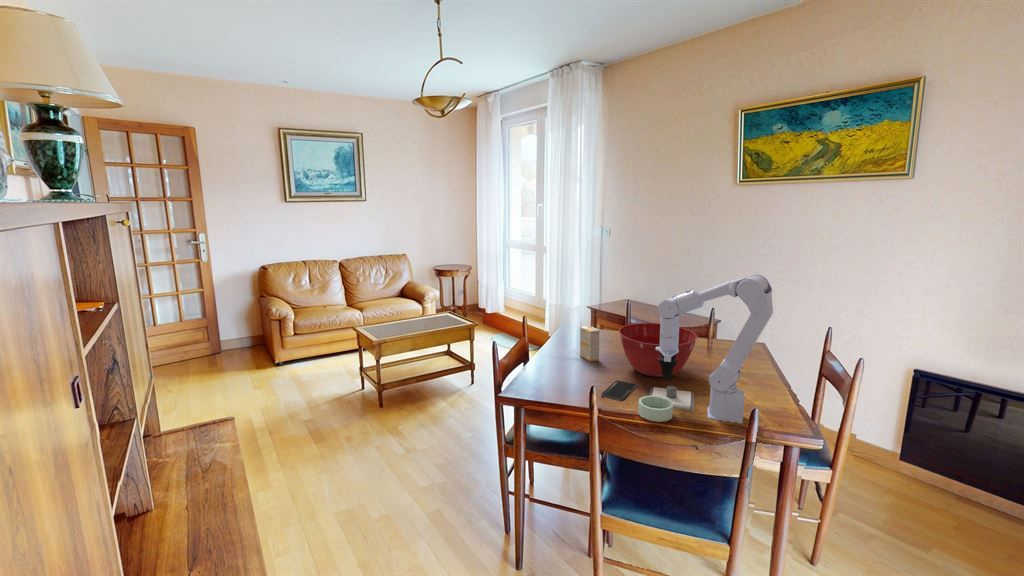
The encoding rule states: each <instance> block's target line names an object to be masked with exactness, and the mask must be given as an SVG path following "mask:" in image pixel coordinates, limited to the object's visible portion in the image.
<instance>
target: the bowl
mask: <svg viewBox="0 0 1024 576" xmlns="http://www.w3.org/2000/svg"><path fill="white" fill-rule="evenodd" d="M637 402H638V403H637V414H638V415H639V416H640V417H641V418H643V419H645V420H647V421H651V422H657V423H659V422H668V421H670V420H671V419H673V413H674V412H673V411H674V408H673V403H672V402H671V401H670V400H669V399H666V398H664V397H660V396H649V395H645V396H642V397H640V398H639V399H638V401H637Z"/></svg>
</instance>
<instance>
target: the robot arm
mask: <svg viewBox="0 0 1024 576" xmlns="http://www.w3.org/2000/svg"><path fill="white" fill-rule="evenodd" d="M772 294H773V287H772V286H771V284H770V282H769V280H768V279H767V278H766V277H765V276H764V275H761V274H753V275H750V276H748V277H747V276H744V277H739V278H736V279H733V280H732V279H731V280H729V281H726V282H723V283H720V284H719V285H716V286H712V287H710V288H708V289H705V290H703V291H699V290H698V289H691V288H690V289H686V290H685V292H684V293H681V294H678V295H677V294H675V295H672V296H671V298H670V297H669V298H668V299H664V300H663V301H661V302H660V303H659V304H658V306H657V311H658V314H659V315H660V323H659V324H660V347H656V350H657V351H660V352H661V355H662V358H658V361H659V364H660V366H661V369H662V375H663V377H662V379H663V381H671V380H672V376H673V375H672V372H673V369H674V367H675V365H676V363H677V360H675V358H676V356H677V354H678V352H679V349H678V341H679V327H680V315H681V314H686V313H688V312H691V311H695V310H698V309H700V308H702V307H703V305H704V303H705V302H709V301H711V300H714V299H718V298H721V297H724V296H731V297H733V298H737V297H738V298H739V299H740V300H741V301H742V302H743V303H744V304H745V306H747V308H748V310H749V312H750V313H749V314H750V315H749V316H748V318H747V320H746V322H745V323H744V324H743V326H742V328H741V330H740V332H739V333H738V335H737V337H736V339H735V341H734V342H733V344H732V346H731V347H730V349H729V350H728V352H727V354H726V355H725V358H723V361H722V362H721V363H720V364H719V366H718V368H717V369H716V370H713V372H711V373H710V374H709V376H708V384H709V386H710V393H709V406H707V411H706V412H707V419H708V420H713V419H714V421H720V420H721V422H727V421H730V422H729V423H734V422H737V421H738V423H737V424H741V423H742V424H744V422H743V421H744V413H745V390H743V389H738V386H737V382H738V381H739V379H740V377H741V369H742V368H743V367H744V366H743V364H744V362H745V361H746V359H747V357H748V356H749V354H750V353H751V350H752V349H753V347H754V346H755V344H756V342H757V341H758V339H759V337H760V336H761V334H762V332H763V331H764V329H765V327H766V326H767V324H768V322H769V321H770V319H771V318H772V316H773V314H774V309H773V308H774V306H773V297H772V296H773V295H772Z"/></svg>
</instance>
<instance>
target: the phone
mask: <svg viewBox="0 0 1024 576" xmlns="http://www.w3.org/2000/svg"><path fill="white" fill-rule="evenodd" d="M637 386H638V385H637V384H636V383H632V382H626V381H623V380H615V381H614V382H613V383H612V384H611V385H609V386H608V387H607V388H606V389H605V390H604V391H602V393H601V398H603V399H604V398H607V399H611V400H616V401H619V402H621V401H625V399H627V398H628V396H629V395H630V394H631V393H632V392H633V391H634V390H635V389H636V388H637Z"/></svg>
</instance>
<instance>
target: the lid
mask: <svg viewBox="0 0 1024 576" xmlns="http://www.w3.org/2000/svg"><path fill="white" fill-rule="evenodd" d="M653 388H654V389H653V394H652V396H660V397H664V398H666V399H669V400H670V401H671V402H672V403H673V407H679V408H686V409H690V406H691V393H692V391H685V390H678V387H676V386H673V385H668V386H666V388H664V387H663V388H662V387H655V386H654V387H653Z"/></svg>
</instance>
